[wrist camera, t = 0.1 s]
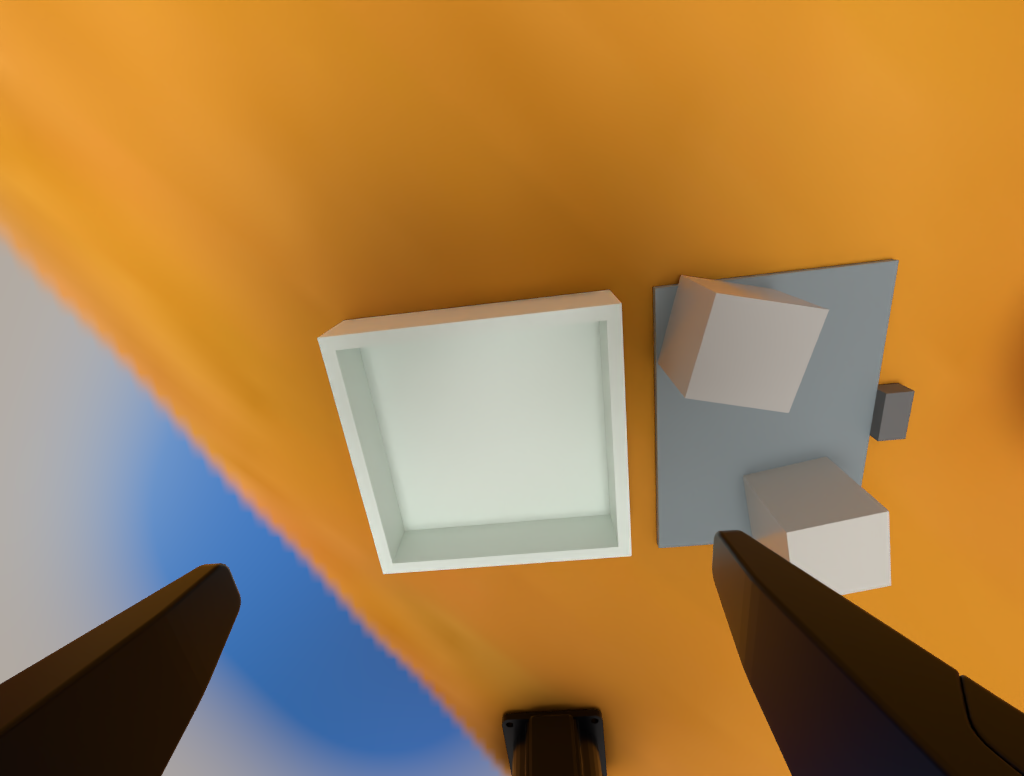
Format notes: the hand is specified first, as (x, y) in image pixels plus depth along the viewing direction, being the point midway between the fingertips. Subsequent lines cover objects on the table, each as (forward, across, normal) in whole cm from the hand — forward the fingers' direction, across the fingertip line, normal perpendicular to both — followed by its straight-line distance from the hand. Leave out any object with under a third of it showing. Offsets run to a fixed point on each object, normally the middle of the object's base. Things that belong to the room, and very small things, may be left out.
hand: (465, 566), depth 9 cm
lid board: (+15, -12, +5) cm, 19 cm away
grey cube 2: (+14, -9, 0) cm, 17 cm away
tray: (+15, +1, +4) cm, 15 cm away
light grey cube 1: (+14, -14, +10) cm, 22 cm away
